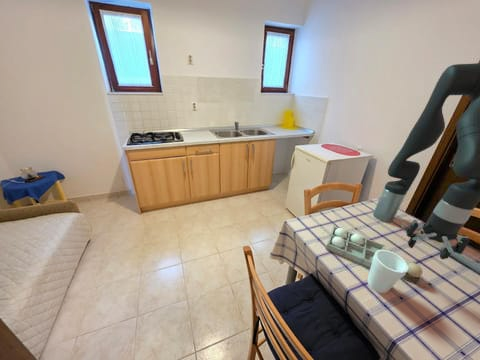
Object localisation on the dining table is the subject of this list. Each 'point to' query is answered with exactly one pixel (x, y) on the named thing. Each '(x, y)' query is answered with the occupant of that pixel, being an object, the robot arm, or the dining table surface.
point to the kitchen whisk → (456, 255)
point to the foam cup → (386, 270)
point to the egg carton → (355, 249)
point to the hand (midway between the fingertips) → (425, 251)
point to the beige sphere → (414, 270)
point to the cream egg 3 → (357, 239)
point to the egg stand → (411, 278)
